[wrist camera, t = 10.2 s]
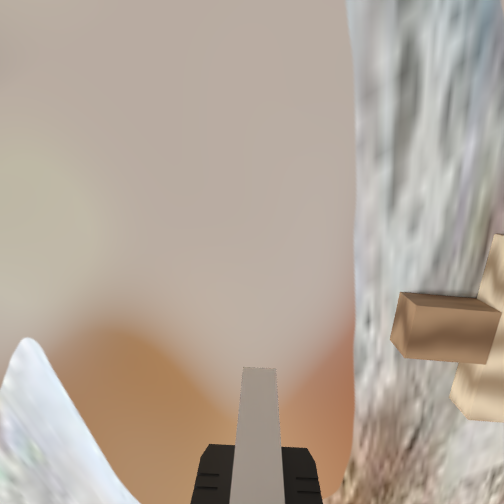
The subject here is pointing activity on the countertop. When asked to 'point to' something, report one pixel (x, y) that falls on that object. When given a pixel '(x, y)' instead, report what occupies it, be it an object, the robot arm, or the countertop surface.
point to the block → (444, 328)
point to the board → (500, 357)
